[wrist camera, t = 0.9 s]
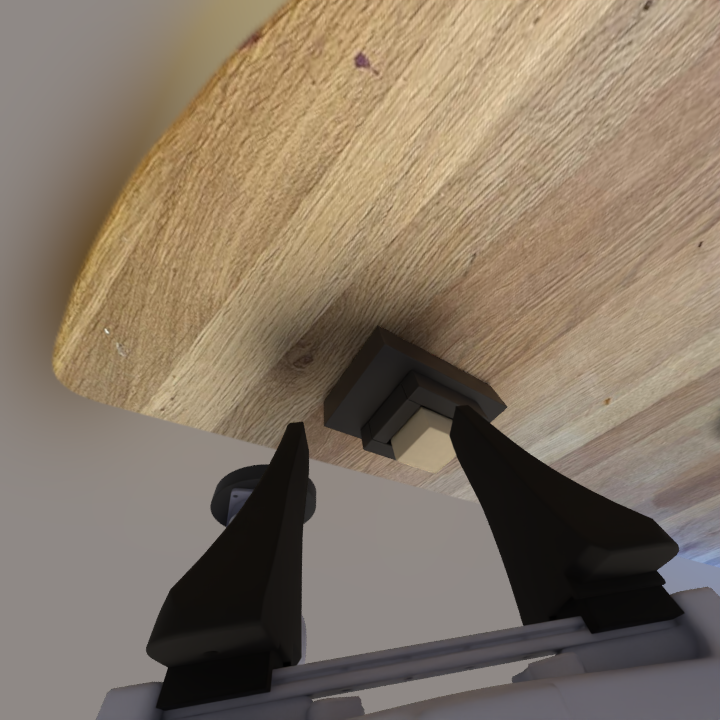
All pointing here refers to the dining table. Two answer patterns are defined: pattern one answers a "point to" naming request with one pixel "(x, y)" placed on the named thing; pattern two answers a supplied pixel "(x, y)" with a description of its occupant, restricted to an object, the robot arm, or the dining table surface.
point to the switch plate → (400, 391)
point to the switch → (424, 441)
